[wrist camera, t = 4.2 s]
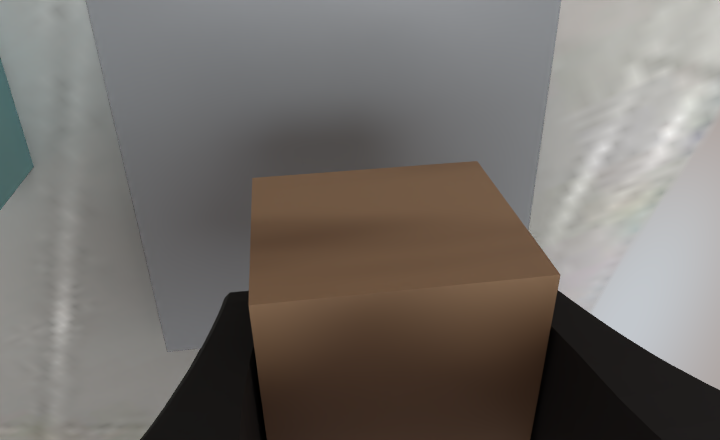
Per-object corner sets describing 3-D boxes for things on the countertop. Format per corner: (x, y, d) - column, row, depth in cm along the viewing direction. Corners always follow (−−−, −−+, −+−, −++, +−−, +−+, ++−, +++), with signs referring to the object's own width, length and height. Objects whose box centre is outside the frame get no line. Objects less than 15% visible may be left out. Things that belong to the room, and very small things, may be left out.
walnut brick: (460, 348, 15) (520, 493, 11) (274, 369, 14) (278, 526, 11) (477, 161, 12) (560, 274, 9) (252, 177, 12) (248, 305, 8)
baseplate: (506, 298, 22) (516, 315, 22) (171, 331, 21) (167, 351, 20) (553, -61, 16) (569, -57, 15) (87, -45, 15) (76, -39, 14)
